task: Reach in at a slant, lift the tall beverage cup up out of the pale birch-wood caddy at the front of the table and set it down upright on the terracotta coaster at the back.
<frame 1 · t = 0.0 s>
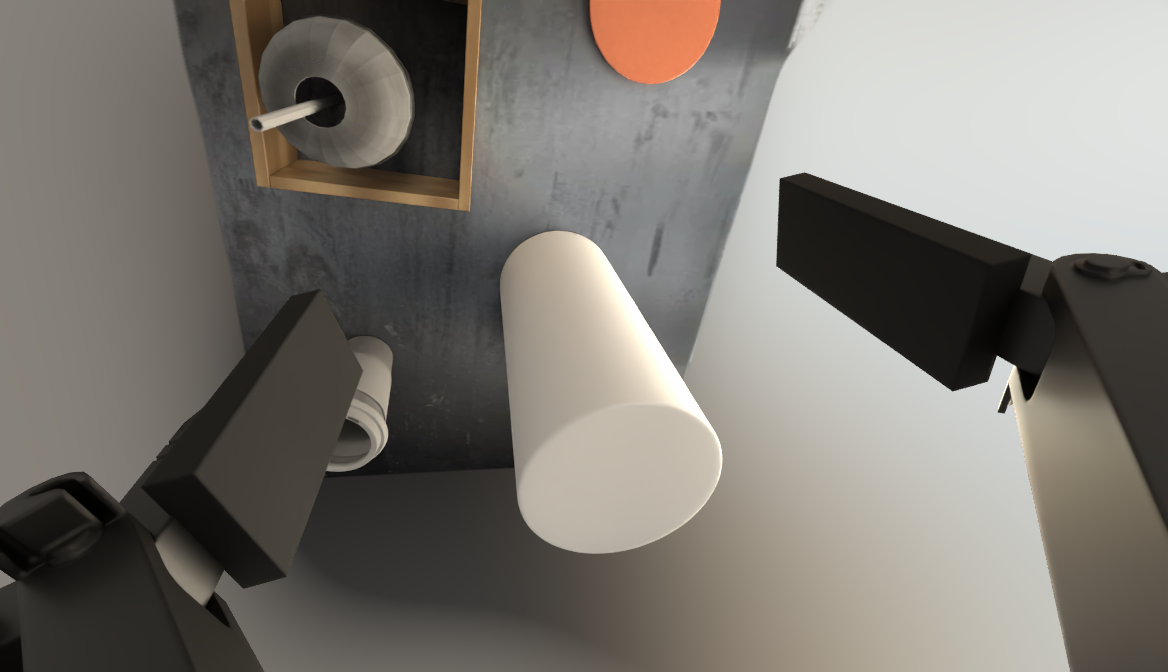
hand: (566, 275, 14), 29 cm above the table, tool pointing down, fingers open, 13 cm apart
cup: (367, 355, 45), on the table
beverage cup: (381, 85, 35), resting in caddy
coaster: (654, 7, 35), on the table
tall pillar cylinder: (556, 284, 45), on the table
caddy: (380, 85, 35), on the table
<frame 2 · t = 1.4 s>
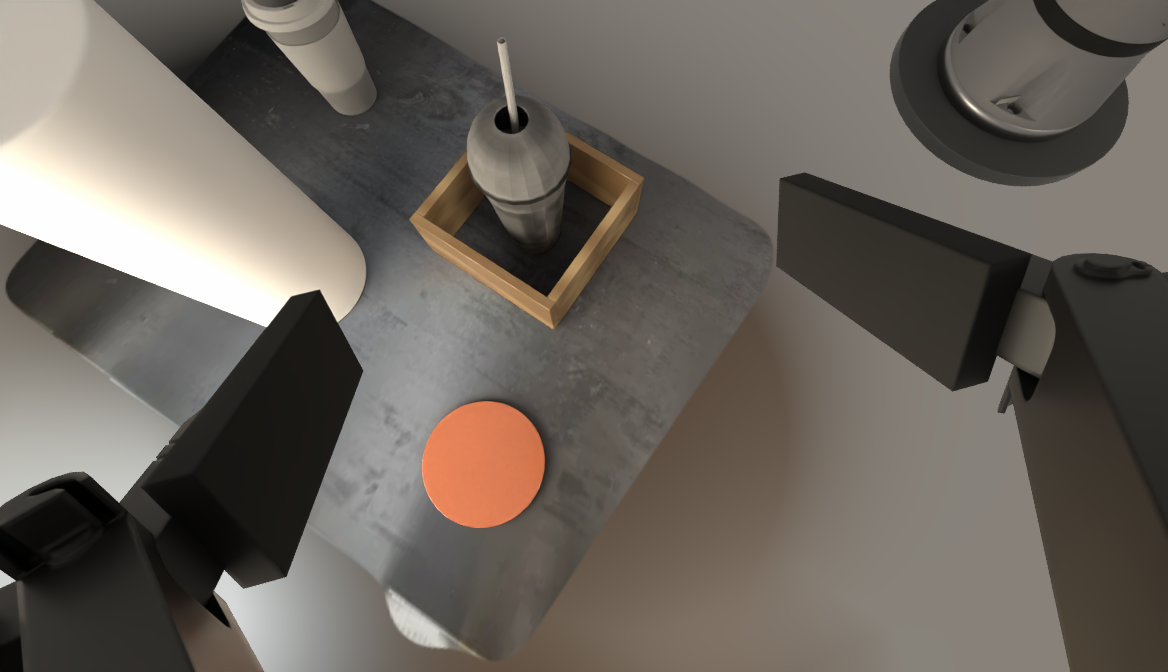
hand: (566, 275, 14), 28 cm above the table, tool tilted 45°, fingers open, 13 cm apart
cup: (354, 97, 48), on the table
beverage cup: (535, 232, 44), resting in caddy
coaster: (484, 462, 39), on the table
tall pillar cylinder: (308, 278, 43), on the table
caddy: (535, 231, 44), on the table
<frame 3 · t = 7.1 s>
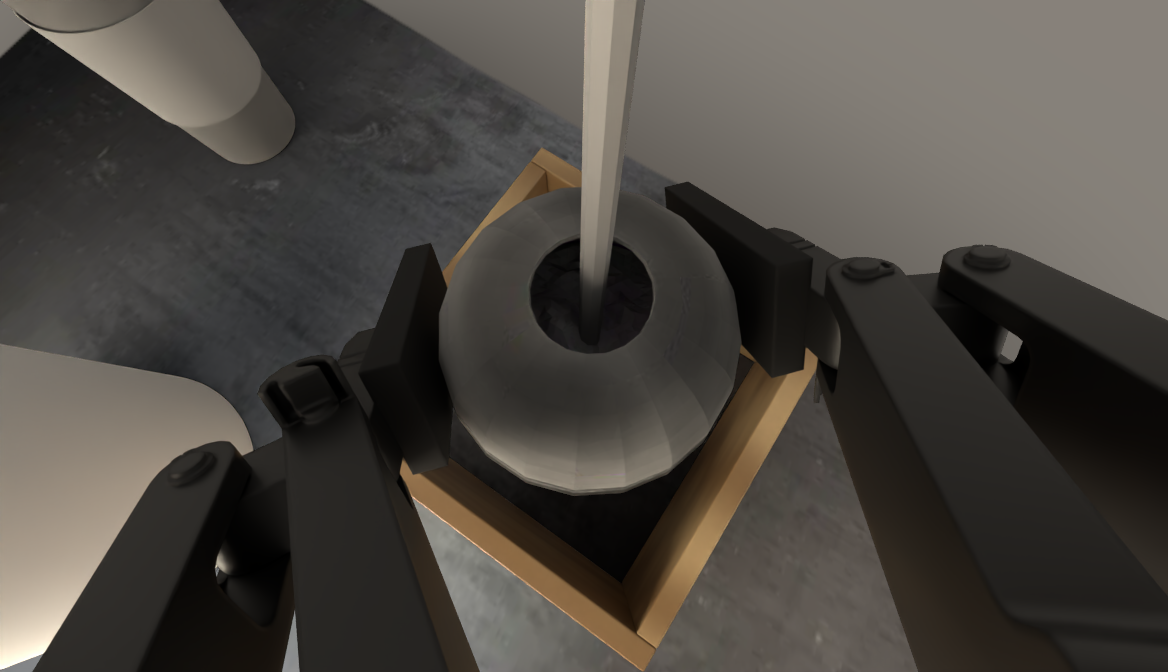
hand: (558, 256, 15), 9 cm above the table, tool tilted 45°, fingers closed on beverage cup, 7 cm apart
cup: (255, 130, 27), on the table
beverage cup: (585, 395, 23), resting in caddy, touching gripper
tall pillar cylinder: (142, 489, 22), on the table
caddy: (585, 394, 23), on the table
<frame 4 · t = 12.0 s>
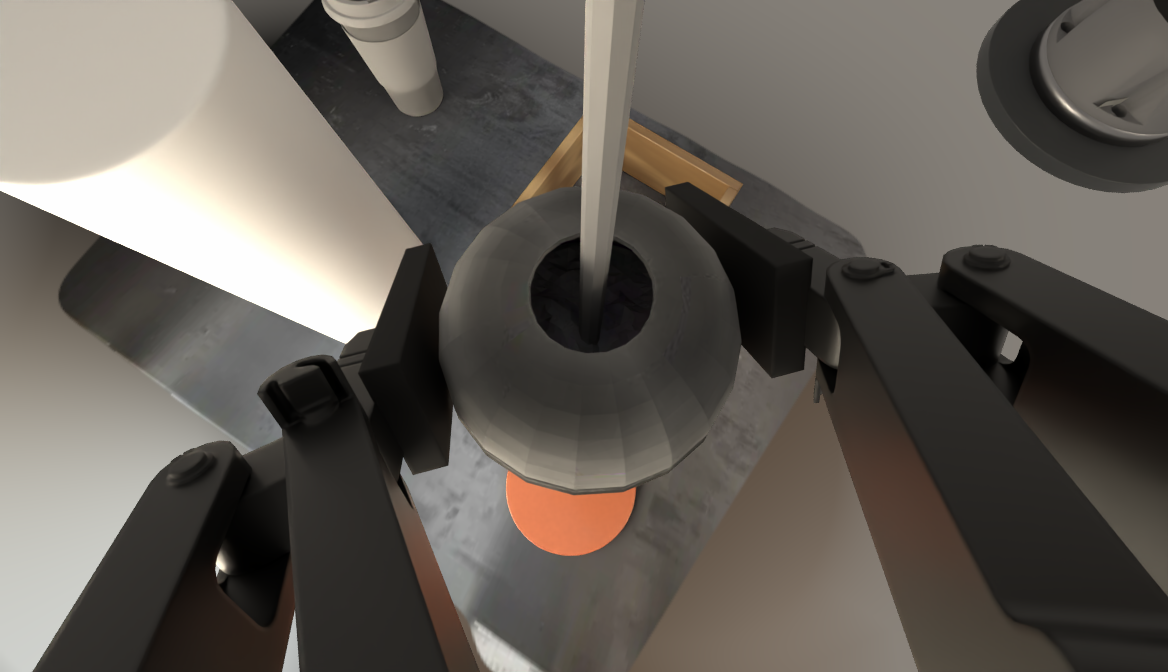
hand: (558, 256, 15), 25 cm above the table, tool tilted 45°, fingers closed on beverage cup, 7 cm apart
cup: (419, 97, 45), on the table
beverage cup: (585, 395, 23), point 15 cm above the table, touching gripper
coaster: (571, 485, 37), on the table
tall pillar cylinder: (377, 288, 41), on the table
caddy: (615, 239, 42), on the table
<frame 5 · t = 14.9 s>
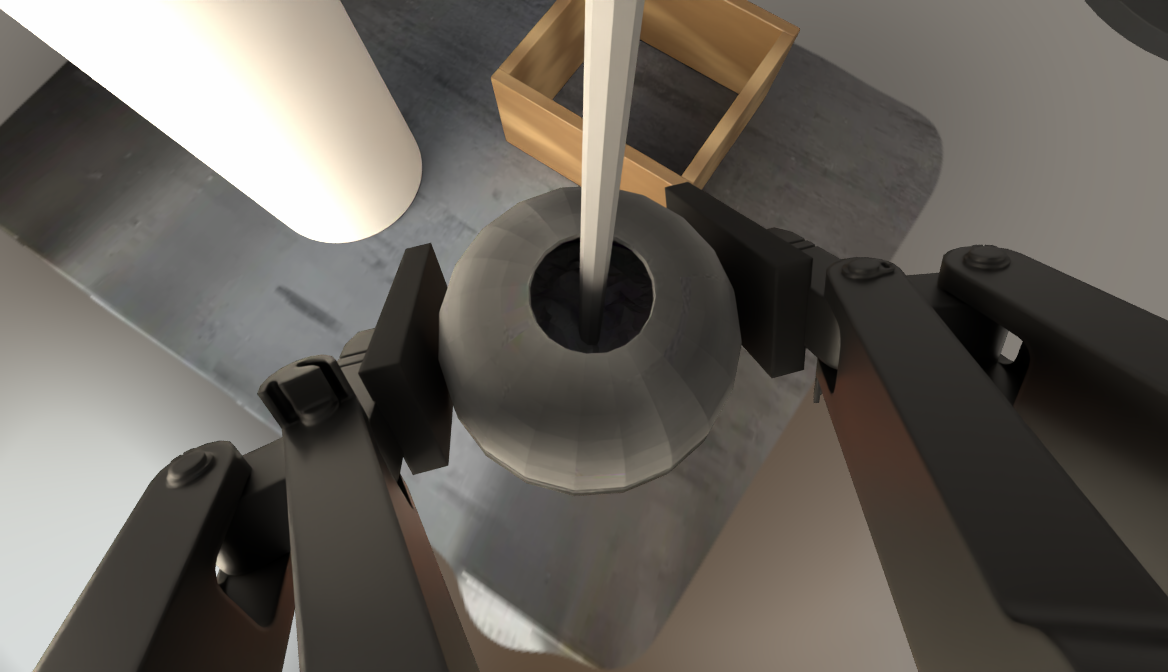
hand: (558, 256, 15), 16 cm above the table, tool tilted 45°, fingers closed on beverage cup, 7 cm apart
beverage cup: (585, 395, 23), point 7 cm above the table, touching gripper
tall pillar cylinder: (347, 174, 34), on the table
caddy: (637, 119, 34), on the table
when the fingers open (10 cm above the table, at t = 17.1 s): beverage cup stays where it is, resting on coaster.
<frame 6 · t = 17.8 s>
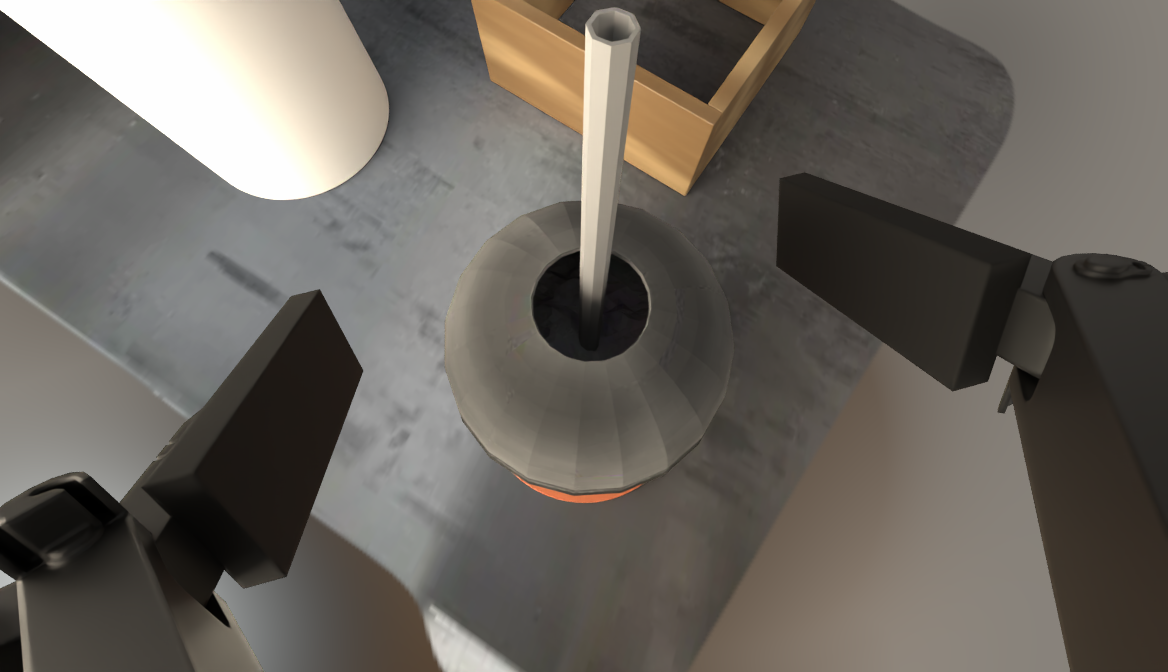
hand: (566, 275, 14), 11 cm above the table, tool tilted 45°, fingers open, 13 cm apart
beverage cup: (584, 397, 24), resting on coaster
coaster: (584, 397, 24), on the table
tall pillar cylinder: (299, 119, 28), on the table
caddy: (647, 56, 29), on the table
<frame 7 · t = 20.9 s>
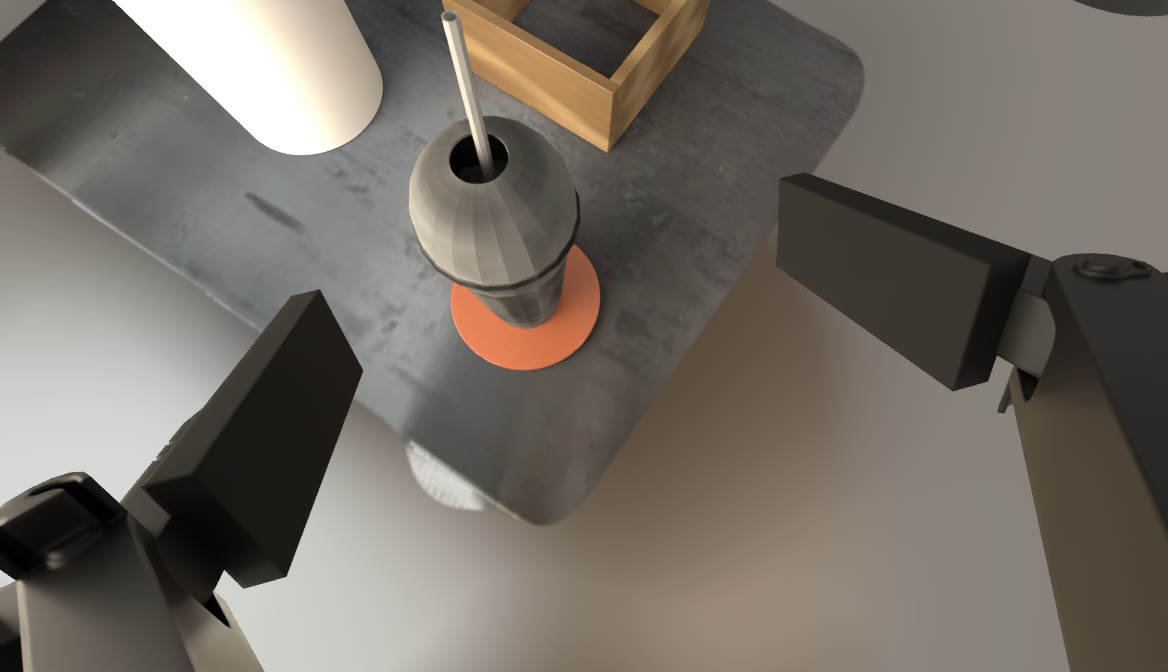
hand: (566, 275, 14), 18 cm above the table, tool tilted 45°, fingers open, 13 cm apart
beverage cup: (526, 297, 32), resting on coaster
coaster: (526, 298, 32), on the table
tall pillar cylinder: (313, 95, 36), on the table
caddy: (583, 47, 37), on the table
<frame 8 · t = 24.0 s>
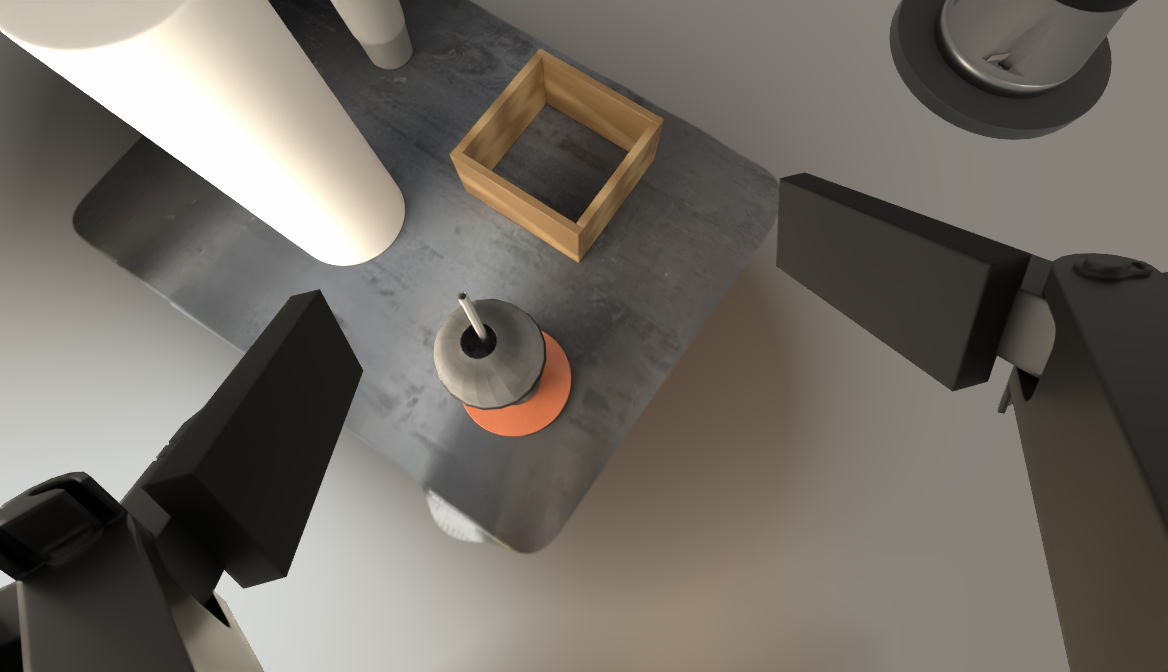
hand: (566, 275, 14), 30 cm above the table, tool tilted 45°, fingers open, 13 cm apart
cup: (391, 53, 51), on the table
beverage cup: (515, 379, 42), resting on coaster
coaster: (515, 379, 43), on the table
tall pillar cylinder: (351, 215, 47), on the table
caddy: (560, 174, 48), on the table
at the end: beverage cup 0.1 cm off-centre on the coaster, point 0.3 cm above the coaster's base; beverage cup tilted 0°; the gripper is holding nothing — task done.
